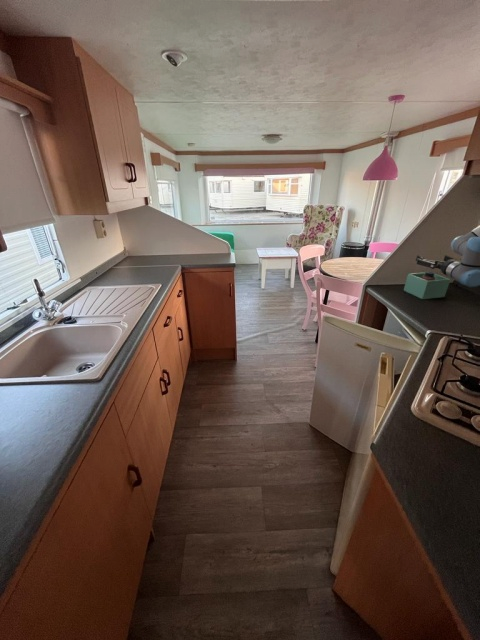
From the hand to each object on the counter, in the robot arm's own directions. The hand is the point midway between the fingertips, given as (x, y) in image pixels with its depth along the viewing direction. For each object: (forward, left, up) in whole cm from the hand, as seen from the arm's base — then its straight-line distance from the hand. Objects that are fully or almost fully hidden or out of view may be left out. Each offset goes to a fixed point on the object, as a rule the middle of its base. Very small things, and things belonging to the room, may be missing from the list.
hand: (430, 257), depth 140 cm
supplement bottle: (-3, +1, -18) cm, 19 cm away
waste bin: (-3, +1, -19) cm, 19 cm away
